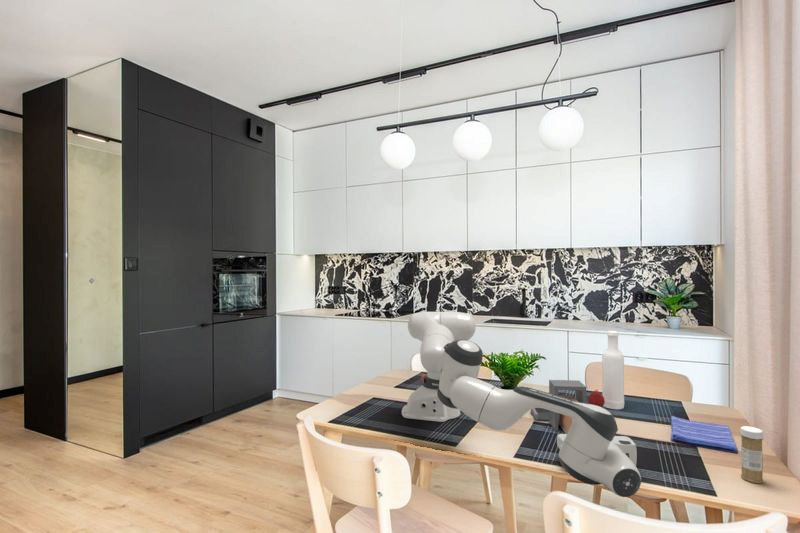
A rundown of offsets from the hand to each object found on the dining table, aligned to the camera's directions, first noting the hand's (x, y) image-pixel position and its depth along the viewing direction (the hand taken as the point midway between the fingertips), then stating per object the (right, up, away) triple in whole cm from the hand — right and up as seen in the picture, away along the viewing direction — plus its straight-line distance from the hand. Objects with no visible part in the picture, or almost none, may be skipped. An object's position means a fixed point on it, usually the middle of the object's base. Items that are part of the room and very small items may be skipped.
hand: (586, 434), depth 129 cm
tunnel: (+2, -5, +20) cm, 20 cm away
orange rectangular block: (+1, -5, +15) cm, 16 cm away
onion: (+20, -5, +37) cm, 42 cm away
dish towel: (+43, -6, +12) cm, 45 cm away
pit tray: (+3, -5, +29) cm, 29 cm away
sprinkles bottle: (+36, -5, -17) cm, 40 cm away
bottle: (+29, -5, +41) cm, 50 cm away
